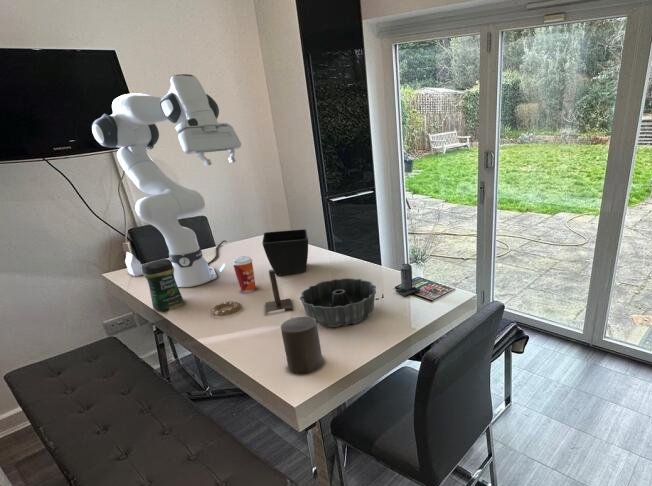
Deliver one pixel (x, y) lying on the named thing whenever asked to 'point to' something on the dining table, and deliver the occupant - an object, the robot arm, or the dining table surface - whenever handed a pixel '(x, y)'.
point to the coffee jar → (162, 284)
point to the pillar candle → (302, 344)
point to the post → (277, 297)
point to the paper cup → (244, 272)
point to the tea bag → (133, 265)
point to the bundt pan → (339, 301)
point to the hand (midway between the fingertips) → (221, 163)
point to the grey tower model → (406, 281)
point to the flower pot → (286, 251)
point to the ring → (226, 312)
